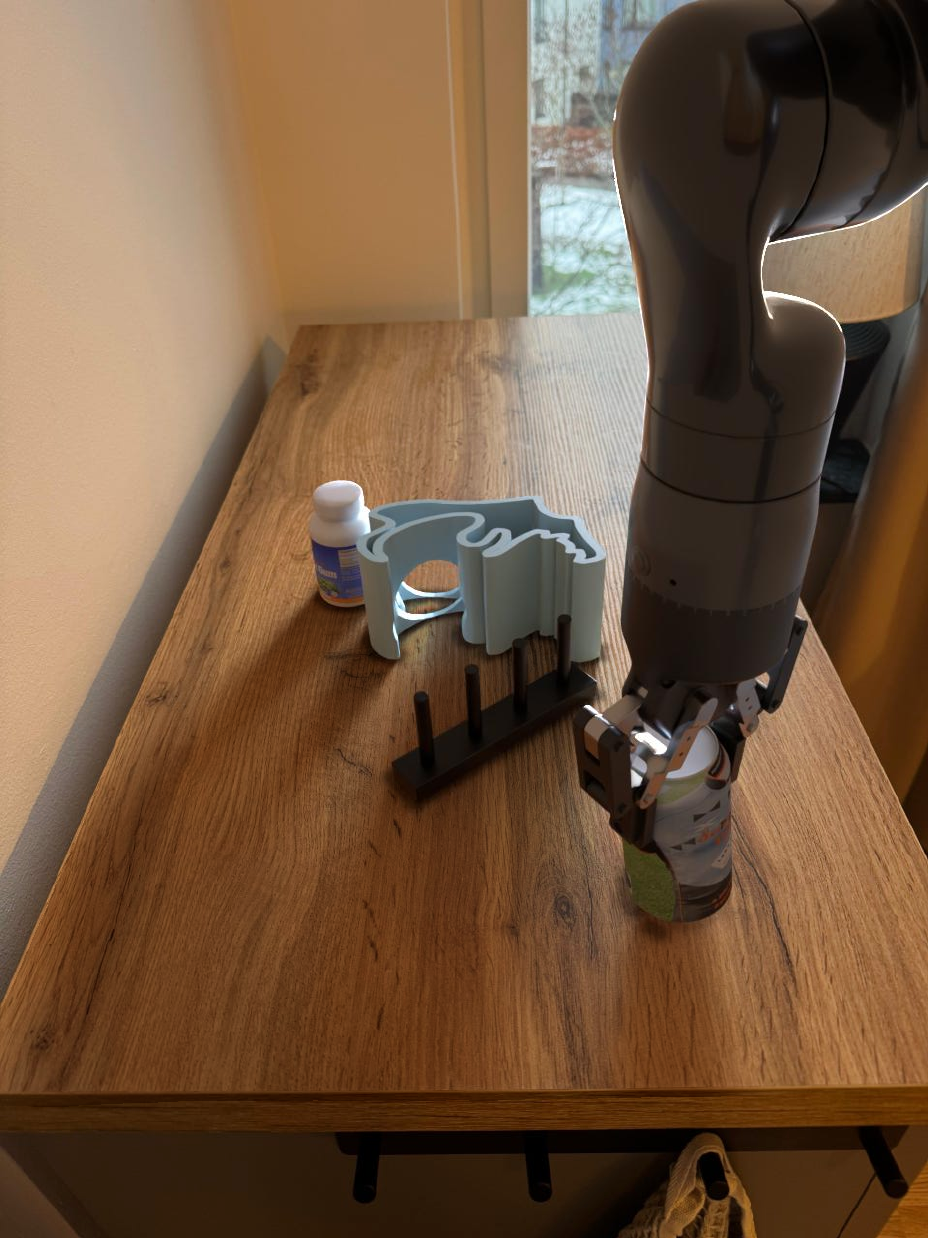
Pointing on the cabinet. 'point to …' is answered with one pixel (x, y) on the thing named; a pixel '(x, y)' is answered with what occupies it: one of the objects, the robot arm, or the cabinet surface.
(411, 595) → the squiggly pen holder
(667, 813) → the beverage can
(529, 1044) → the cabinet surface
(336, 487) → the pill bottle
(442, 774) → the rack
